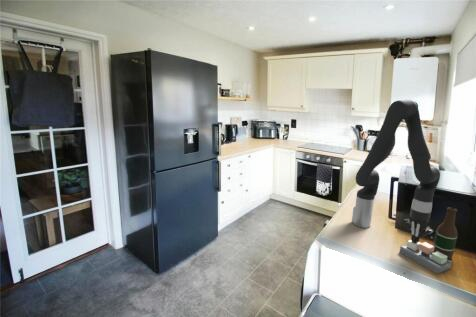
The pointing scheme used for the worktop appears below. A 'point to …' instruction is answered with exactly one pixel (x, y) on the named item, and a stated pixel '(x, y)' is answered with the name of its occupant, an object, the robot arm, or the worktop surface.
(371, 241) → the worktop surface
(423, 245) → the key terracotta
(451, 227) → the beer bottle
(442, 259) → the key sage
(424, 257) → the grey tray
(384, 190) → the worktop surface
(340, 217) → the worktop surface
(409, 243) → the key ivory
